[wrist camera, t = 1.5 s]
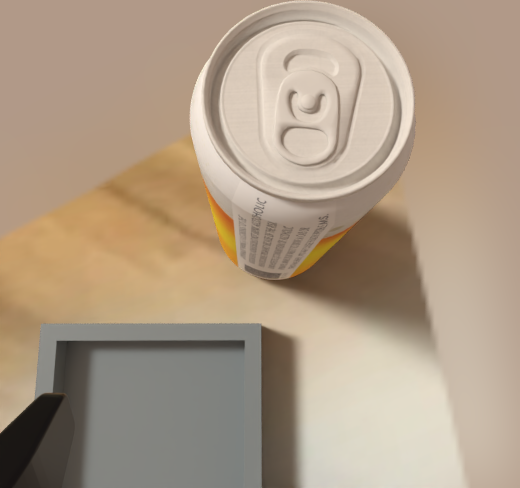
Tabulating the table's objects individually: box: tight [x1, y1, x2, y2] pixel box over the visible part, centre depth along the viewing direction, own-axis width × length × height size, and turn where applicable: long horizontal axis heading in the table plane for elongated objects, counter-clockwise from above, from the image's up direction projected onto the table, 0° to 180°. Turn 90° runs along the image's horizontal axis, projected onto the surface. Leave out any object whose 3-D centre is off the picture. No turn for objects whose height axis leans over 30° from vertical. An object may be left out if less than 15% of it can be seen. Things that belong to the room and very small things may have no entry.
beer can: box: [190, 1, 416, 280], centre depth 19 cm, size 6×6×15 cm
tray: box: [35, 324, 262, 488], centre depth 23 cm, size 11×11×2 cm
